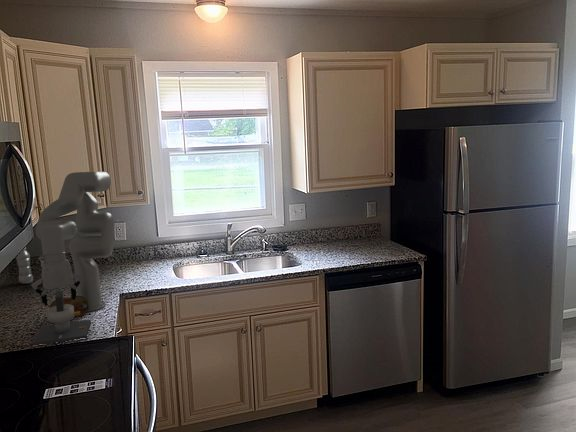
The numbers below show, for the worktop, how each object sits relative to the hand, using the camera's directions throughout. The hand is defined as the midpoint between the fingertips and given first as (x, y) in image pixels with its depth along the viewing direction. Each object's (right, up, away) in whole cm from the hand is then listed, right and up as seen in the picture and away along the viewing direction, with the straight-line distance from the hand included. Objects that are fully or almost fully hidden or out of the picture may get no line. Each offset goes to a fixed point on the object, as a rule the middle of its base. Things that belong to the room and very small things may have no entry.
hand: (59, 301), depth 184 cm
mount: (0, -13, +2) cm, 13 cm away
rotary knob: (+1, -6, +1) cm, 7 cm away
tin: (-5, -10, +21) cm, 24 cm away
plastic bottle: (-51, -3, +73) cm, 89 cm away
